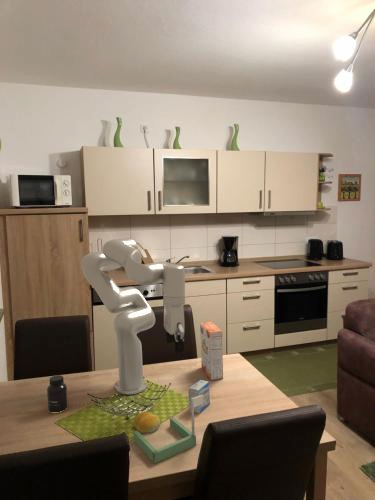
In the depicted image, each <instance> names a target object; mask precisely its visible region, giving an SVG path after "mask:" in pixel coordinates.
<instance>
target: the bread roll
mask: <svg viewBox="0 0 375 500" xmlns="http://www.w3.org/2000/svg"><path fill="white" fill-rule="evenodd" d="M132 424H133V427H134V428H135V429H137V431H138V432H139V433H141V434H148V433H154V432H156V431H157V430H158V429H159V428H160V427H161V420H160V418H159V417H158V416H156V415H155V414H153V413H152V412H150V411H143V412H140V413H139V414H137V415H136V416H135V418H134V419H133V422H132Z"/></svg>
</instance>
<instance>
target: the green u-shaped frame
mask: <svg viewBox="0 0 375 500" xmlns="http://www.w3.org/2000/svg"><path fill="white" fill-rule="evenodd" d="M201 404H203V395H200V396H198V397H195V398H193V397H192V398H191V411H190V413H191V430H190V429H188V428H187V427H186V426H185V425H184V424H183V423H181V422H180V421H179V420H178V419H176V418H175V417H174V416H172V417H169V427H170V428H172V430H174V432H176V433H177V434H178V435H179V436H180V437H182V438H181V439H179V440H176V441H174V442H172V443H169V444H167V445H165V446H162V447H160V448H158V449H156V448H155V446H153V445H152V444H151V443H150V442H149V441H148V440H147V439H146V438H145V437H144V436H143V435H142V433H141V432H140V431H139V430H135V431H133V440H134V441H133V442H135V444H136V445H137V446H138V447H139V448H140V449H141V450H142V451H143V453H145V454H146V456H147V457H148V458H149V459H150V460H151V462H153V463H154V464H157V463H160V462H162V461H164V460H167V459H168V458H170V457H173V456H175V455H177V454H179V453H182V452H185V451H186V450H188V449H191V448H193V447H194V446H197V436H196V434H195V412H194V407H196V406H199V405H201Z"/></svg>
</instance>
